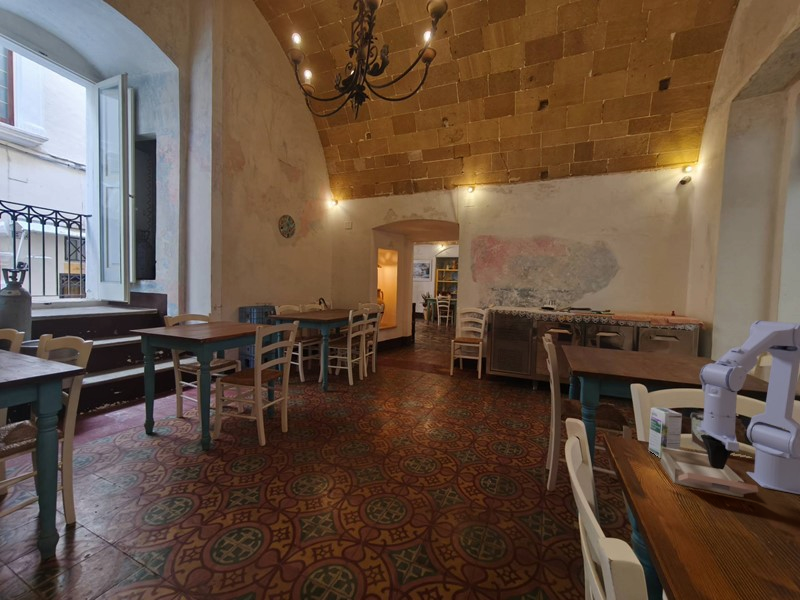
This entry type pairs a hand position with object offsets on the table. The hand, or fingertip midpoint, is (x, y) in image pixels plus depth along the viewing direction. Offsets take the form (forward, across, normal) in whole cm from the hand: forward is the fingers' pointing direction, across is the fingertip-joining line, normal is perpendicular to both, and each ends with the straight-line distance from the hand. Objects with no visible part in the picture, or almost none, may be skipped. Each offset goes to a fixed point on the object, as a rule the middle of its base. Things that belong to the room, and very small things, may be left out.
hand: (716, 467), depth 84 cm
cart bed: (+8, -10, 0) cm, 13 cm away
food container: (+8, -36, +12) cm, 39 cm away
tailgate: (+6, -3, 0) cm, 7 cm away
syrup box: (+8, -22, -5) cm, 24 cm away
